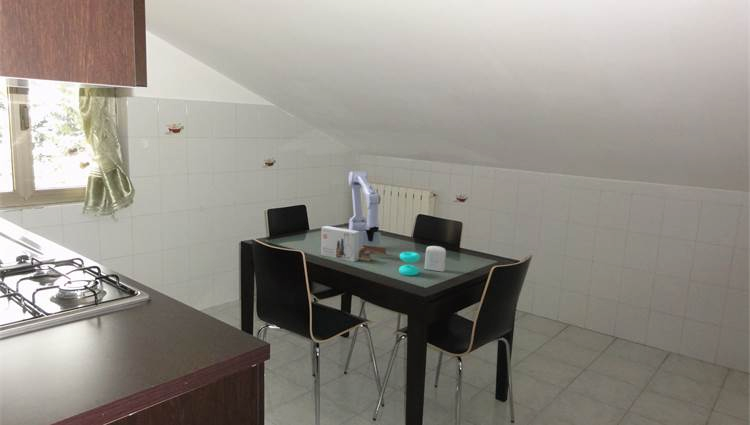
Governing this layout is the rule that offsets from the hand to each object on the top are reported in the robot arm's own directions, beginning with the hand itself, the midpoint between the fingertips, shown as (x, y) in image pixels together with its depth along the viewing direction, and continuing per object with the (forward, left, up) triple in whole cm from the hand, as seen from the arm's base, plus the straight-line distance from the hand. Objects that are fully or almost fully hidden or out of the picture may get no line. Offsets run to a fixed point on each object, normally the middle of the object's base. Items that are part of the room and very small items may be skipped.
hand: (371, 240), depth 292 cm
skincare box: (+11, -14, -9) cm, 20 cm away
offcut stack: (+8, 0, -9) cm, 12 cm away
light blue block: (0, 0, -2) cm, 2 cm away
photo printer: (+9, +38, -9) cm, 40 cm away
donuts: (+21, +28, -9) cm, 36 cm away
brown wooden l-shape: (-2, -1, -9) cm, 9 cm away
